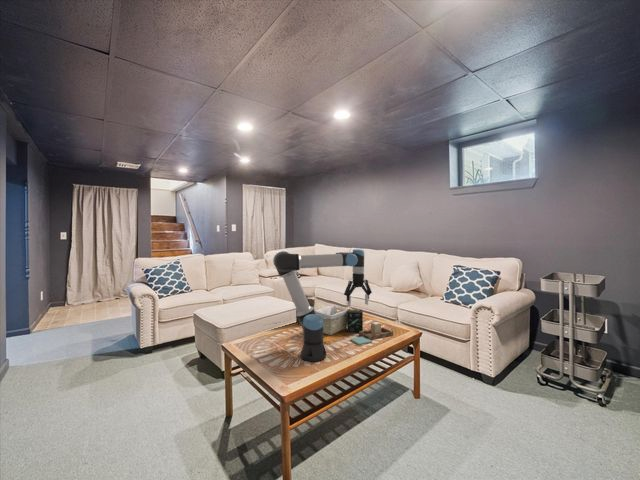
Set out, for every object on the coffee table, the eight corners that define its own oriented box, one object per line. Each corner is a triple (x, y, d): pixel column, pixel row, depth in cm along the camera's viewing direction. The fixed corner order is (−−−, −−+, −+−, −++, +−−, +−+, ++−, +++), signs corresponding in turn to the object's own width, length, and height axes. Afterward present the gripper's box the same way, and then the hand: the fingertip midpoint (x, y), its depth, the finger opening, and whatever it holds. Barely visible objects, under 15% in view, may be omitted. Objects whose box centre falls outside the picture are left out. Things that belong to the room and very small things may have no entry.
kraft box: (375, 336, 199) (375, 324, 199) (370, 334, 204) (370, 322, 204) (381, 335, 202) (381, 323, 202) (376, 333, 206) (376, 321, 206)
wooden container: (317, 323, 231) (317, 296, 231) (300, 326, 224) (300, 298, 224) (309, 319, 244) (309, 293, 244) (293, 321, 237) (293, 294, 237)
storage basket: (330, 336, 201) (331, 315, 200) (312, 330, 211) (313, 310, 210) (349, 328, 219) (350, 308, 219) (332, 323, 229) (333, 304, 229)
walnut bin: (368, 340, 193) (368, 336, 193) (358, 335, 203) (358, 331, 203) (393, 335, 203) (393, 331, 203) (382, 330, 212) (382, 327, 212)
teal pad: (359, 345, 184) (359, 343, 184) (350, 340, 193) (350, 338, 193) (371, 342, 189) (371, 340, 189) (362, 337, 198) (362, 336, 198)
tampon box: (362, 328, 218) (362, 309, 217) (362, 332, 208) (363, 312, 208) (347, 328, 218) (347, 308, 218) (347, 332, 209) (347, 312, 209)
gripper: (344, 274, 183) (344, 308, 183) (377, 272, 194) (376, 304, 194) (338, 273, 189) (338, 305, 189) (370, 271, 200) (370, 302, 200)
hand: (357, 305), depth 192 cm, fingers open, 13 cm apart
